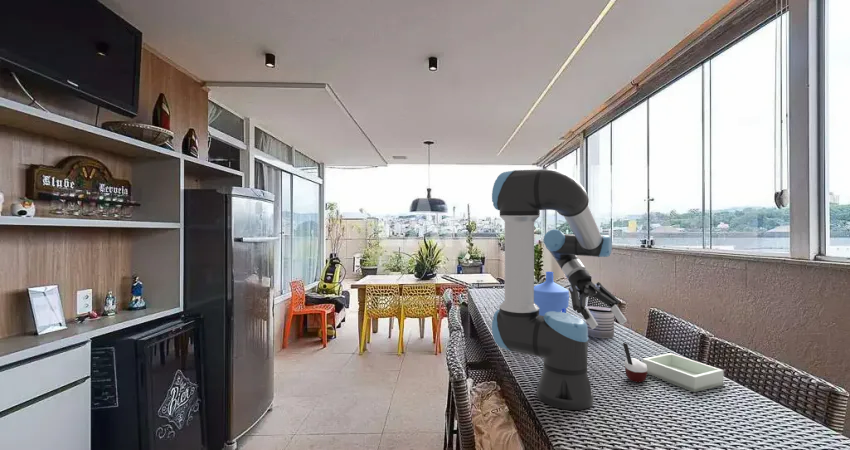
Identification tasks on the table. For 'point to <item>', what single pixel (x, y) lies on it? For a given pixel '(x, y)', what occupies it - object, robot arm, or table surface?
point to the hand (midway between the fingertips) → (609, 324)
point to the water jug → (550, 296)
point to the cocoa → (634, 367)
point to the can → (601, 322)
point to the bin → (684, 372)
